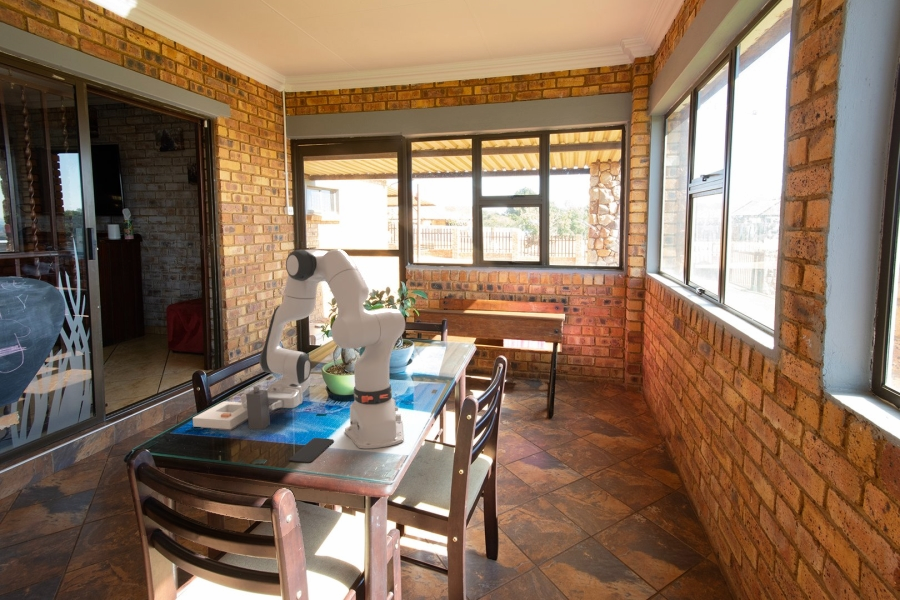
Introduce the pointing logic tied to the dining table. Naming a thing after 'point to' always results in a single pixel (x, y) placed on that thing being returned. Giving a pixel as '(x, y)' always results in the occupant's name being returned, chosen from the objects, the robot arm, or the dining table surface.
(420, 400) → the dining table surface
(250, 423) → the plug
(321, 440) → the phone
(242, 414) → the socket
